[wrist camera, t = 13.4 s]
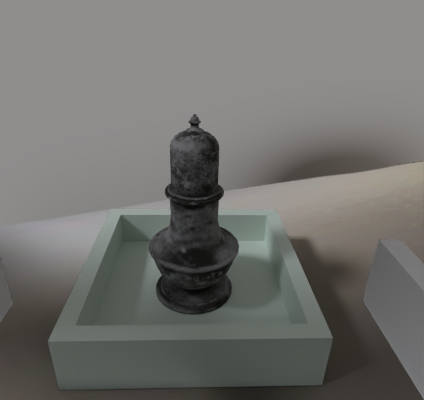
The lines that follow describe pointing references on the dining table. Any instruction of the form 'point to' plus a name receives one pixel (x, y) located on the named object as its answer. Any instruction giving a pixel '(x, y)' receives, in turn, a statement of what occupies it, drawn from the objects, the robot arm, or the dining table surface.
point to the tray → (186, 323)
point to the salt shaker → (194, 229)
